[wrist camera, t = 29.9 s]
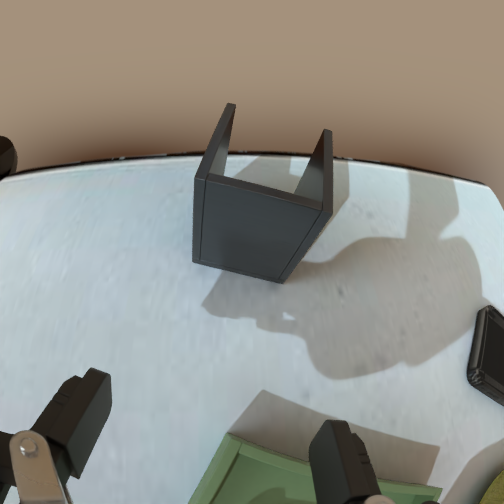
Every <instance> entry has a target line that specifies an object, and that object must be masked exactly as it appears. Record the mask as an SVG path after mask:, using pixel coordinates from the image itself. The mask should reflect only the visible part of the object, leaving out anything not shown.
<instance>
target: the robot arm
mask: <svg viewBox="0 0 504 504" xmlns="http://www.w3.org/2000/svg"><path fill="white" fill-rule="evenodd" d="M111 407H112V392H111V376H110V374H108V373H105V372H102V371H100V370H97V369H94V368H90V369H89V370H88V371H87V372H86V374H85V375H84V377H83V378H81V377H78V376H76V375H75V376H73V377H72V378H70V379H68V380H66V381H65V382H64V383H63V384H62V386H61V387H60V388H59V390H58V392H57V393H56V394H55V395H54V397H53V398H52V400H51V401H50V402H49V404H48V405H47V406H46V408H45V409H44V411H43V412H42V414H41V415H40V416H39V418H38V419H37V421H36V422H35V424H34V425H33V427H32V428H31V429H30V430H25V431H20V432H18V433H16V434H8V433H5V432H1V431H0V504H3V503H4V500H5V498H6V496H7V494H8V491H9V489H10V487H11V485H12V486H15V487H17V490H18V494H19V498H20V503H19V504H73V501H72V499H71V496H70V493H69V490H68V488H67V485H66V483H67V481H68V479H69V477H70V476H73V477H75V478H77V479H79V478H80V476H81V474H82V472H83V469H84V467H85V465H86V463H87V461H88V458H89V456H90V454H91V452H92V450H93V448H94V446H95V443H96V441H97V439H98V437H99V435H100V433H101V431H102V429H103V427H104V425H105V423H106V421H107V419H108V417H109V414H110V411H111ZM309 461H310V466H311V472H312V478H313V483H314V489H315V495H316V501H317V504H395V502H394V501H393V500H392V499H391V498H389V497H387V496H384V495H382V493H381V491H380V488H379V485H378V482H377V479H376V476H375V473H374V470H373V468H372V465H371V464H370V459H369V456H368V455H367V451H366V448H365V445H364V443H363V441H362V440H361V439H360V438H359V437H358V435H357V434H356V433H351V431H350V428H349V425H348V423H347V422H346V421H342V420H326V421H325V422H324V423H323V425H322V426H321V428H320V430H319V431H318V433H317V434H316V436H315V437H314V439H313V441H312V442H311V444H310V447H309ZM421 504H439V503H438V502H435V501H430V500H429V501H425V502H423V503H421Z"/></svg>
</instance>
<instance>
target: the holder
mask: <svg viewBox="0 0 504 504" xmlns="http://www.w3.org/2000/svg"><path fill="white" fill-rule="evenodd" d="M235 108H236V105H235V104H231V103H227V105H226V107H225V109H224V112H223V114H222V116H221V118H220V120H219V122H218V124H217V127H216V129H215V131H214V133H213V135H212V138H211V140H210V142H209V145H208V147H207V149H206V151H205V154H204V156H203V158H202V161H201V163H200V166H199V168H198V170H197V173H196V175H195V178H194V200H193V240H192V262H194V263H198V264H202V265H206V266H210V267H214V268H218V269H222V270H226V271H230V272H234V273H238V274H243V275H247V276H251V277H255V278H259V279H264V280H268V281H272V282H276V283H281V284H283V283H284V282H285V281H286V279H287V278H288V277H289V275H290V274H291V273H292V271H293V270H294V268H295V267H296V266H297V264H298V263H299V261H300V260H301V259H302V257H303V256H304V254H305V253H306V252H307V250H308V249H309V247H310V246H311V245H312V243H313V242H314V240H315V239H316V237H317V236H318V235H319V233H320V232H321V230H322V229H323V227H324V226H325V224H326V223H327V222H328V220H329V219H330V217H331V216H332V214H333V141H332V131H330V130H327V129H324V130H323V132H322V135H321V137H320V139H319V141H318V143H317V145H316V148H315V150H314V152H313V154H312V156H311V158H310V161H309V163H308V165H307V167H306V169H305V171H304V174H303V176H302V178H301V180H300V182H299V184H298V186H297V189H296V191H295V193H294V194H292V193H288V192H284V191H281V190H277V189H273V188H269V187H266V186H262V185H258V184H254V183H250V182H246V181H242V180H238V179H234V178H230V177H225V176H224V171H225V165H226V159H227V153H228V147H229V141H230V136H231V130H232V124H233V119H234V113H235Z"/></svg>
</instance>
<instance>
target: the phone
mask: <svg viewBox="0 0 504 504" xmlns="http://www.w3.org/2000/svg"><path fill="white" fill-rule="evenodd" d="M467 378H468V381H469V383H470V384H471V385H472V386H473V387H475V388H476V389H478V390H479V391H481V392H482V393H484V394H485V395H487V396H488V397H490V398H491V399H493V400H494V401H496V402H497V403H499V404H501V405H502V406H504V316H503V315H502V314H500V313H499V312H498V311H497V310H496V309H495V308H494V307H493V306H491V305H488V306H486V307H484V308H483V309H481V310H479V312H478V315H477V321H476V328H475V334H474V340H473V345H472V350H471V355H470V360H469V364H468V369H467Z"/></svg>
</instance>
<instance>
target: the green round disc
mask: <svg viewBox="0 0 504 504" xmlns="http://www.w3.org/2000/svg"><path fill="white" fill-rule="evenodd" d="M479 504H504V470H503V471H502V472H501V473H500V474H499V475H498V476H497V477H496V479H494V481H493V482H492V484H491V485H490V486H489V488H488V489H487V491H486V493H485V494H484V496H483V498H482V499H481V501H480V503H479Z"/></svg>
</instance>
